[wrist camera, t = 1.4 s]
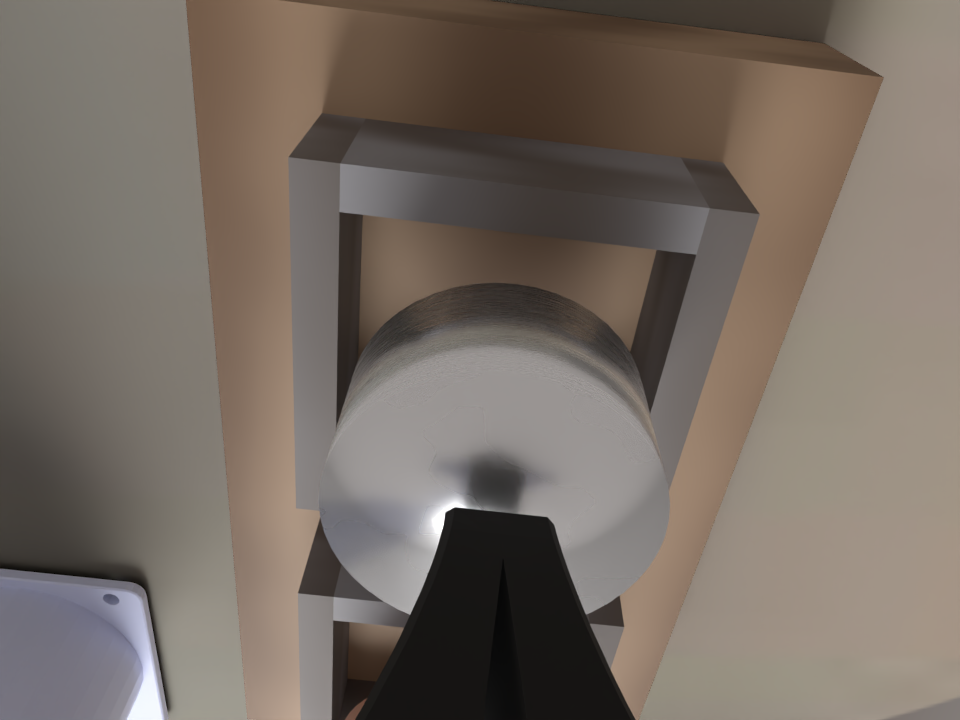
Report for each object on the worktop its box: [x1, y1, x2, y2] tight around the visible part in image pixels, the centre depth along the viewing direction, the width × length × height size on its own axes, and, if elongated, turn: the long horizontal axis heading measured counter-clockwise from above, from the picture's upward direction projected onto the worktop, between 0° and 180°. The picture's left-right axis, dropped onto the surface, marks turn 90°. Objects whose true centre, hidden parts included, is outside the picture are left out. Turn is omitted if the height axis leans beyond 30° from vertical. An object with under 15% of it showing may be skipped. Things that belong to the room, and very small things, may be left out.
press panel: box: [186, 0, 884, 720], centre depth 19 cm, size 12×21×6 cm, turn 174°
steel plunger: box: [319, 283, 670, 615], centre depth 12 cm, size 5×5×2 cm
